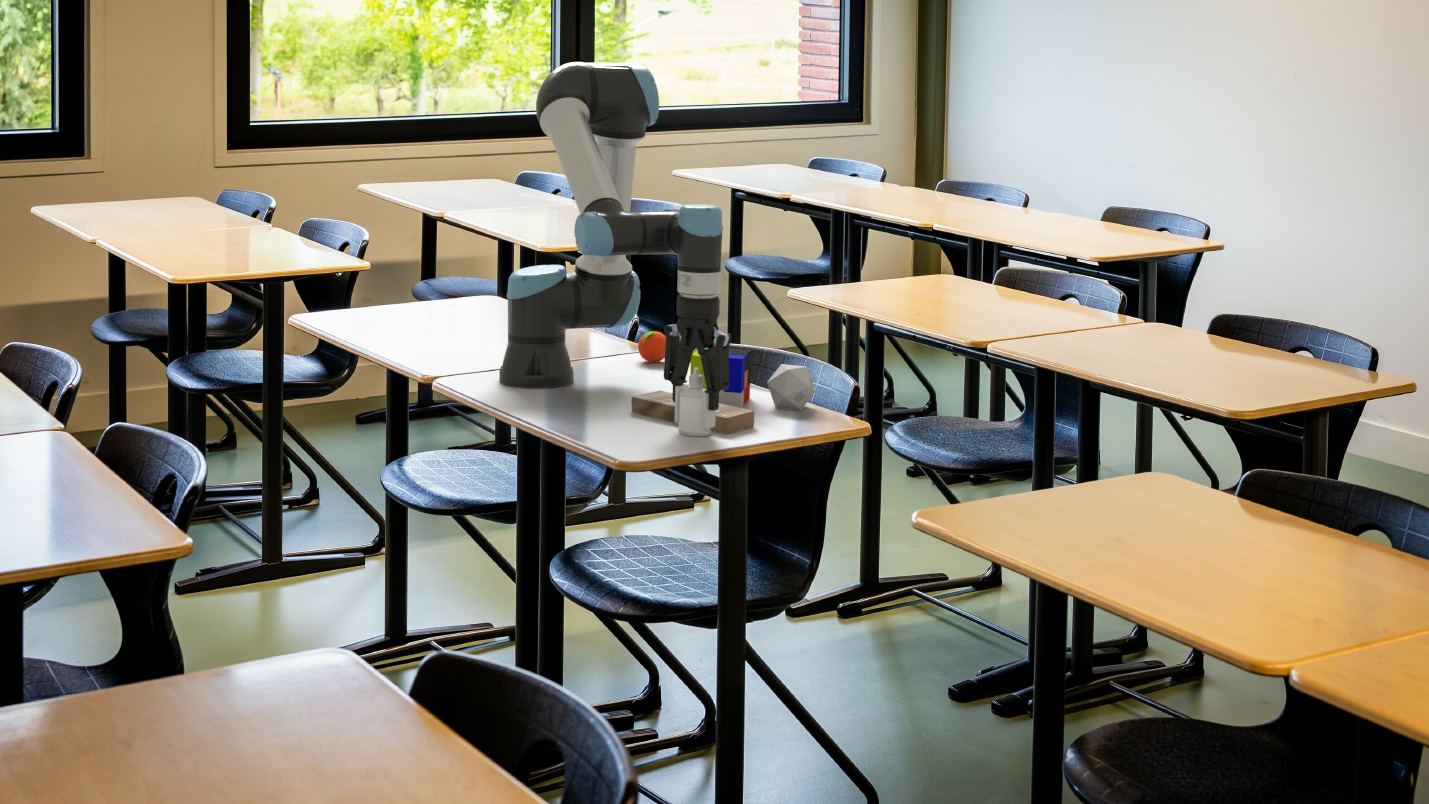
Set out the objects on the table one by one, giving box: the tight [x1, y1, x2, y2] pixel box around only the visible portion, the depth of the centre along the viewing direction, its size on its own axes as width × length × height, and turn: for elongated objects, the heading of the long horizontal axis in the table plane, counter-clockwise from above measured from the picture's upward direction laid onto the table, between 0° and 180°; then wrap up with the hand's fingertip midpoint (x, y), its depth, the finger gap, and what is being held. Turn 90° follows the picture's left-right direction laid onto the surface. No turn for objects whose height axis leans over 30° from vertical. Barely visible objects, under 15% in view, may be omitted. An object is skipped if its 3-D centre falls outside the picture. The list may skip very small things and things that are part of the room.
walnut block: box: [630, 390, 755, 435], centre depth 260 cm, size 23×8×3 cm, turn 51°
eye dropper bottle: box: [678, 368, 712, 438], centre depth 249 cm, size 4×6×12 cm
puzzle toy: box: [689, 347, 752, 408], centre depth 274 cm, size 10×10×10 cm
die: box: [766, 363, 817, 411], centre depth 273 cm, size 8×9×10 cm
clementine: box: [637, 330, 666, 363], centre depth 311 cm, size 8×7×7 cm
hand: (694, 424), depth 250 cm, fingers closed on eye dropper bottle, 6 cm apart
